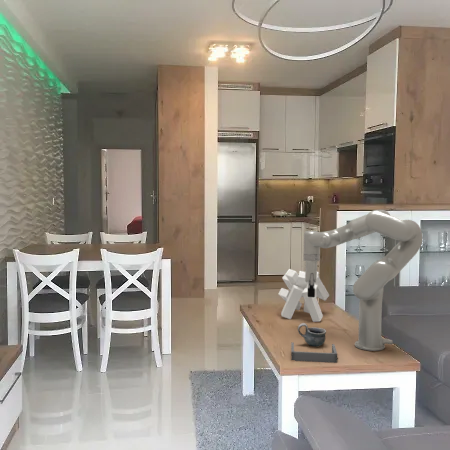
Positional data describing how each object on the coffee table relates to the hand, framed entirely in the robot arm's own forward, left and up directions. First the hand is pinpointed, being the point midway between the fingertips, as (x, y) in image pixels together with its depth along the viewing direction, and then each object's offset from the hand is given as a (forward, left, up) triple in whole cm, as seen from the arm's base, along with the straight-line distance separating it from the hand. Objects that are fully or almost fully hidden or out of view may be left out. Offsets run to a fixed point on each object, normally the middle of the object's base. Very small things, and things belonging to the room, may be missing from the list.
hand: (311, 296), depth 229 cm
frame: (0, +28, -19) cm, 34 cm away
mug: (0, +14, -19) cm, 24 cm away
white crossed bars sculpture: (+2, -40, -19) cm, 45 cm away
